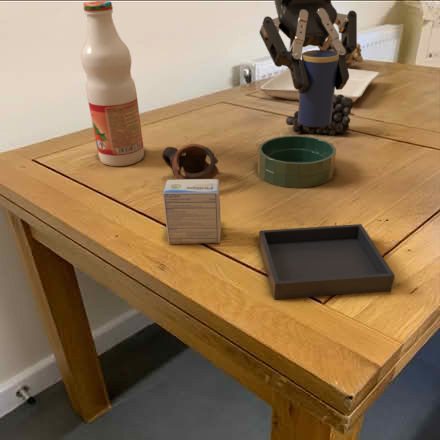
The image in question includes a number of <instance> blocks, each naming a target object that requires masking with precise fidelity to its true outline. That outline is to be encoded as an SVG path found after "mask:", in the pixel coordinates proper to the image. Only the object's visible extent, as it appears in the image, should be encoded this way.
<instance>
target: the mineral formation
mask: <svg viewBox="0 0 440 440" xmlns="http://www.w3.org/2000/svg"><path fill="white" fill-rule="evenodd" d="M339 40H340V42H341V39H339ZM363 61H364V58H363V56H362V48H361V44H360V43H358V42H357V48H356V49H355V51H354V52H353V53H352V55H351V56H350V58H349V60H347V61H346V64H347V67H349V66H350V65H351V63H352V64H354V65H355V64H356V63H358V64H361V63H362V62H363Z"/></svg>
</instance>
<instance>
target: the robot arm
mask: <svg viewBox="0 0 440 440" xmlns="http://www.w3.org/2000/svg"><path fill="white" fill-rule="evenodd" d="M273 1H274V5H275V11H276V14H277V17H275V18H272V17H271V16H269V15H267V16H265V17H264V18H263V20H262V23H261V26H260V28H259V36H260V37H261V40H262V41H263V43H264V45H265V48H266V50H267V51H268V53H269V55H270V58H271V60H272V61H273V64H274V65H275V67H278V68H281V67H282V66H283V67H286V68H289V69H290V72H291V76H292V81H293V85H294V88H295V89H296V90H298V91H299V93H300V94H301V93H305V92H306V90H307V89H308V87H309V81H308V77H307V73H306V68H305V64H304V60H302V53H303V48H306V47H308V46H312V47H317V48H318V50H329V51H335V52H338V53H339V59H338V65H337V74H336V83H335V87H336V90H340V89H343V87H344V86H345V84H346V83H347V81H348V79H349V72H348V69H349V68H348V66H347V64H346V61H347V60H349V58H350V56H351V55H352V53H353V52H354V51H355V49H356V48H357V43H358V14H357V12H356V11H355V10H349V11H348V13H347V14H345V13H339V12H337V9H336V8H335V7H334V6H333V4H332V0H273ZM334 24H335V25H336V26H337V28H338V31H337V28H335V25H334ZM280 31H281V33H283V34H284V35H285V37H287V38H288V40H289V44H288V45H289V46H288V48H287V46H286V44H285V42H284V40H283V38H282V36H281V34H280ZM340 35H341V37H340ZM340 40H341V42H340Z"/></svg>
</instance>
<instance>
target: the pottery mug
mask: <svg viewBox="0 0 440 440" xmlns="http://www.w3.org/2000/svg"><path fill="white" fill-rule="evenodd" d="M207 156H208V157H209V161H210V162H208V161H207ZM161 157H162V160H163V161H164V163H165V164H166V165H167V166H168V167H169V168H170V169H171V170H172V174H173V176H174V177H175V178H176V180H184V179H215V176H218V175H219V176H220V173H221V172H220V171H219V169H218V167H217V164H218V163H219V159H218V158H217V157H216V156H215V154H214V152H213V151H212V150H211V149H210V148H209V147H207V146H205V145H203V144H199V143H190V144H186V145H183V146H182V147H180V148H179V149H177V148H175V147H172V146H166V147H165V148H164V150H163V151H162V153H161ZM182 169H183V172H184V175H183V174H182V172H181V171H182ZM194 172H195V173H194Z"/></svg>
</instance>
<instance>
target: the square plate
mask: <svg viewBox="0 0 440 440" xmlns="http://www.w3.org/2000/svg"><path fill="white" fill-rule="evenodd" d="M347 69H348V72H349V79H348V81H347V83H346V84H345V86H344V87H343V89H340V90H336V87H335V92H334V95H335V96H338V95H339V94H341V95H343V96H344V97H347V98H351V99H352V100H353V103H354V102H356V101H357V100H358V98H361V97H363V94H364V92H365V91H366V89H367V88H368V87H369V85H370V84H371V83H373V81H374V80H375V79H376V78H377V77H378V76H380V72H379V71H373V70H365V69H364V70H363V69H355V68H347ZM259 90H260V91H262V92H263V93H264V94H265V95H267V96H270V97H276V98H280V99H282V100H283V99H284V100H290V101H291V100H292V101H299V95H300V93H299V91H298V90H296V89H295V88H294V85H293V81H292V76H291V72H290V69H289V68H288V67H286V68H285V69H284V70H282V71H281V72H279V73H278V74H276V75H274V76H273V77H272V78H271V79H269V80H268V81H266V82H265V83H264V84H262V85H261V86H260V87H259Z"/></svg>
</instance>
